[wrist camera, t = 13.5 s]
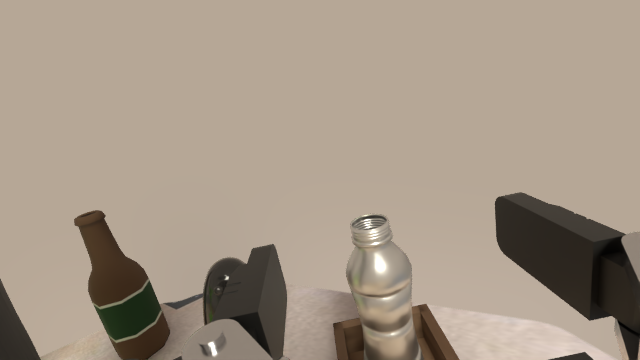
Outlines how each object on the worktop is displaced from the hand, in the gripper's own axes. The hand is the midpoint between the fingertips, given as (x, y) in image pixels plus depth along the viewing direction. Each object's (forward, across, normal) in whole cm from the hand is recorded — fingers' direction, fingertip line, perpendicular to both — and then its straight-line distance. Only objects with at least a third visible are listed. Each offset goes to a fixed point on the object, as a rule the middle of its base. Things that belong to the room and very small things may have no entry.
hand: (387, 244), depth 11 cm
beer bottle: (+33, +36, +28) cm, 56 cm away
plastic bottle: (+17, -2, +27) cm, 32 cm away
